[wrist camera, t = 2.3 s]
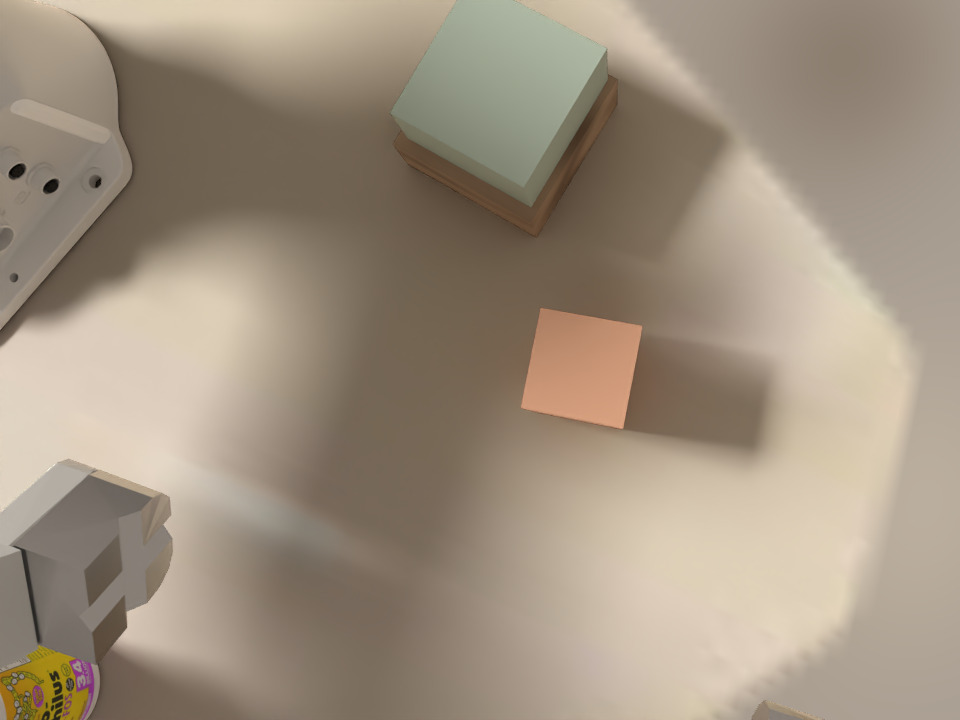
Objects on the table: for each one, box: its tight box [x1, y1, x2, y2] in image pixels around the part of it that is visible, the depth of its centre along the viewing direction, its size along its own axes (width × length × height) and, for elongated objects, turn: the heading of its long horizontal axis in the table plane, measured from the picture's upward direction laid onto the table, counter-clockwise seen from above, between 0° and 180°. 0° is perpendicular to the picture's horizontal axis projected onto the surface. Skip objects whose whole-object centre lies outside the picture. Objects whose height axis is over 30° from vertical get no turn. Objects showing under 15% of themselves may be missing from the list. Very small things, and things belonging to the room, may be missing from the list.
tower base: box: [393, 75, 618, 237], centre depth 51 cm, size 9×9×4 cm
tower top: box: [390, 0, 608, 207], centre depth 47 cm, size 8×8×4 cm
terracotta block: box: [521, 308, 643, 429], centre depth 47 cm, size 5×5×8 cm
